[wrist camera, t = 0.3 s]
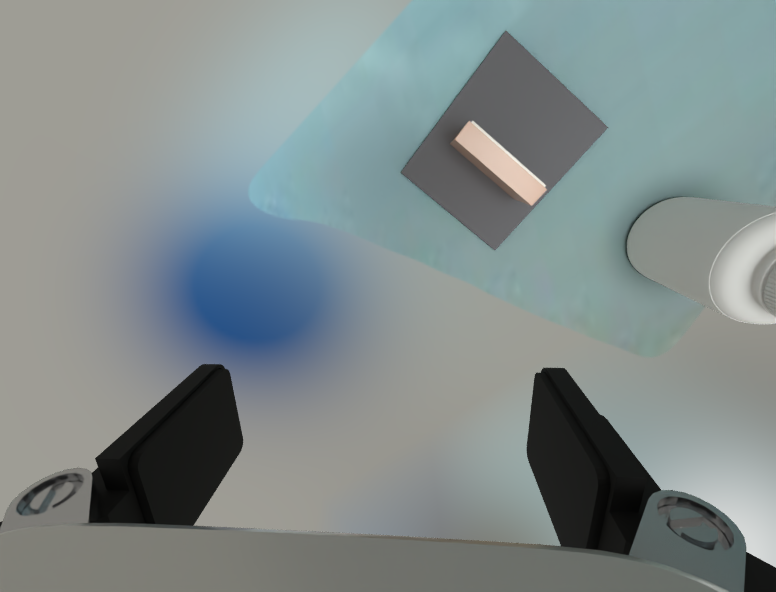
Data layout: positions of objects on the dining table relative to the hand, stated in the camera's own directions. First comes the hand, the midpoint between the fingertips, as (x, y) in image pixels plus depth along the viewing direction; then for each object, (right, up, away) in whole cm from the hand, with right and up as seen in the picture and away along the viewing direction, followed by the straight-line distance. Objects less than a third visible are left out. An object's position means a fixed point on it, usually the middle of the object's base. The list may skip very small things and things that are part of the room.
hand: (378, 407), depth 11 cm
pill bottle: (+27, +9, +24) cm, 37 cm away
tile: (+10, +16, +22) cm, 29 cm away
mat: (+10, +17, +22) cm, 30 cm away
